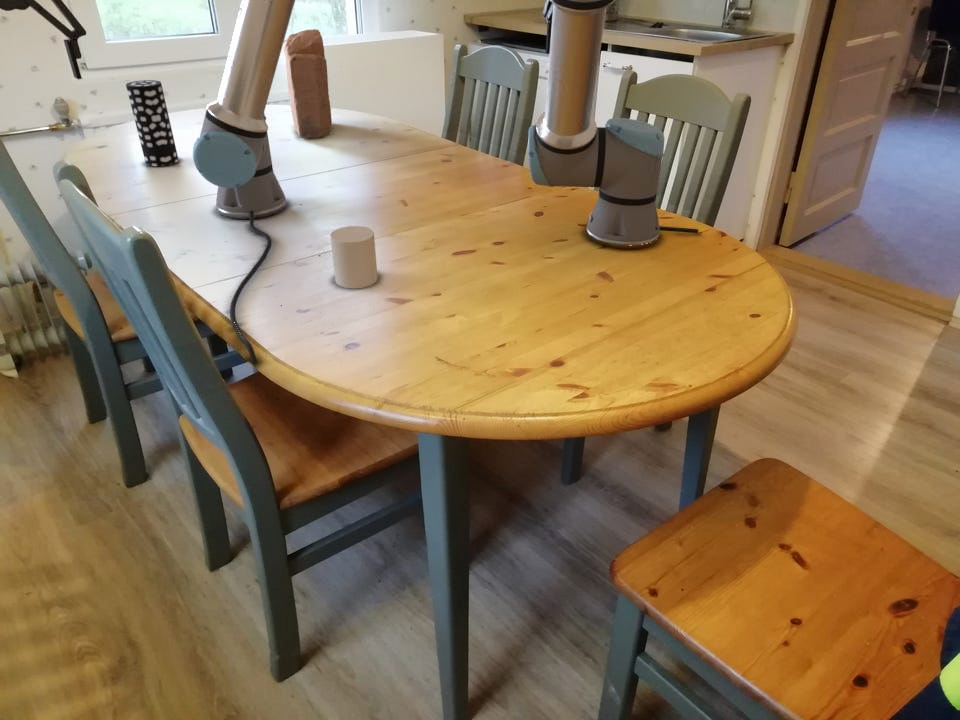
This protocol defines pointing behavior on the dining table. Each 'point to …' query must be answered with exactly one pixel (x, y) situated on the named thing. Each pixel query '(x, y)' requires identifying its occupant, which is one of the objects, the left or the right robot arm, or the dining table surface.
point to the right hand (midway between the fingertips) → (565, 57)
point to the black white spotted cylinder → (152, 122)
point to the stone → (308, 83)
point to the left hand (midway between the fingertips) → (38, 82)
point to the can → (354, 256)
